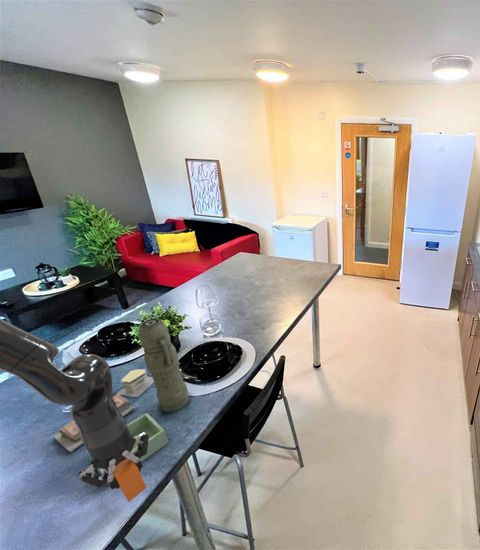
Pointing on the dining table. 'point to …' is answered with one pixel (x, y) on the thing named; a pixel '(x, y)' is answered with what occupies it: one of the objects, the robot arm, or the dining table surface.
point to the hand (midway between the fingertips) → (127, 477)
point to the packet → (129, 479)
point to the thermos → (163, 365)
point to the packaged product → (70, 432)
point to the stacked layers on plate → (135, 383)
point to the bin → (151, 428)
